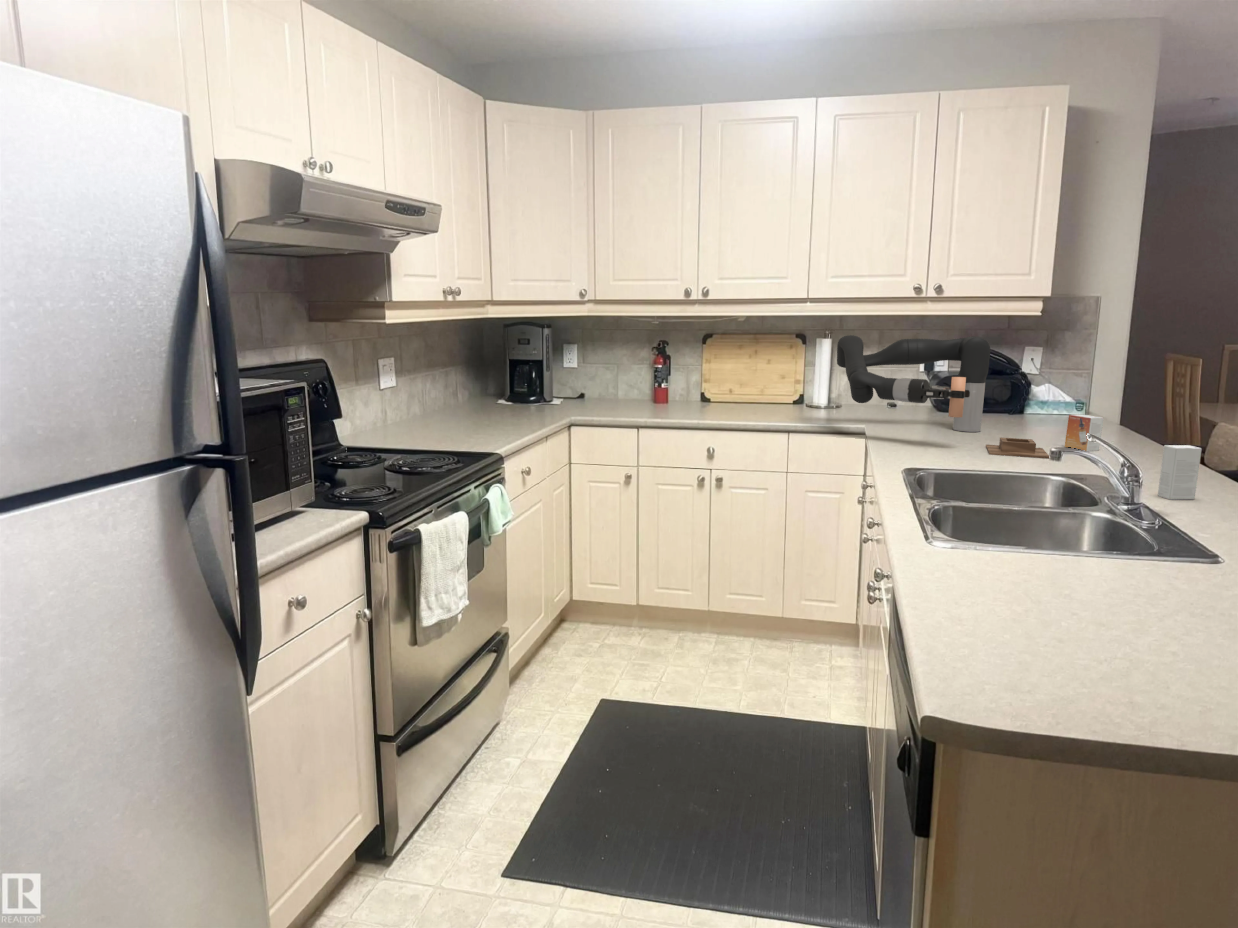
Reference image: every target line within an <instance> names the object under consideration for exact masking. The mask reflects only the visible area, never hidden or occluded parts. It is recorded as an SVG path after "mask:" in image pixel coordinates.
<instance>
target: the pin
mask: <svg viewBox="0 0 1238 928" xmlns="http://www.w3.org/2000/svg"><path fill="white" fill-rule="evenodd" d="M965 384H966V377H958V376H951V383H950V388H951V390H955V391H965ZM948 404H949V406H948V407H949V408H948V417H950V418H954V417H963V406H964V398H963V399H962V398H949V403H948Z"/></svg>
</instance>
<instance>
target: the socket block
mask: <svg viewBox="0 0 1238 928" xmlns="http://www.w3.org/2000/svg"><path fill="white" fill-rule="evenodd" d="M985 448H986V450H987V453H988V455H990V456H991V455H992V456H993V455H994V456H1004V455H1005V456H1009V457H1019V456H1020V458H1021V457H1022V458H1036V459H1049V456H1050V455H1049V454H1048V452H1047V451H1046V450H1045V449H1044V448H1043V447H1037V443H1036V442H1035V440H1034V439H1031V438H1030V439H1029V438H1016V437H1015V438H1014V437H999V444H998V445H997V444H985ZM1049 460H1050V459H1049Z"/></svg>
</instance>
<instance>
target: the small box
mask: <svg viewBox="0 0 1238 928" xmlns="http://www.w3.org/2000/svg"><path fill="white" fill-rule="evenodd" d="M1067 418H1068V419H1067V425H1066V435H1065V441H1064V448H1068V447H1071V448H1070V449H1073V448H1077V449H1081V450H1080V451H1082V450H1085V451H1084V452H1099V451H1100V447H1101V443H1100V444H1098V443H1094V442H1091V441H1089V440H1088V439H1087V436H1086V435H1087V433H1091V434H1094V435H1096V436H1097V437H1099V438H1102V431H1103V426H1104V424H1103V423H1104V417H1102V416H1093V415H1088V414H1081V413H1080V414H1079V413H1078V414H1077V413H1076V414H1069V415H1068V417H1067ZM1077 449H1076V450H1077Z"/></svg>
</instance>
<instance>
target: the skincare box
mask: <svg viewBox="0 0 1238 928" xmlns="http://www.w3.org/2000/svg"><path fill="white" fill-rule="evenodd" d="M1162 451H1163V452H1162V458H1161V467H1160V474H1159V484H1158V489H1157V496H1158V497H1161V498H1164V499H1167V500H1195V498H1196V491H1197V483H1198V478H1199V469H1200V463H1201V455H1202V447H1197V446H1195V445H1190V444H1186V445H1185V444H1183V445H1182V444H1181V445H1180V444H1178V445H1177V444H1173V445H1169V444H1164V446H1163V449H1162Z"/></svg>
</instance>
